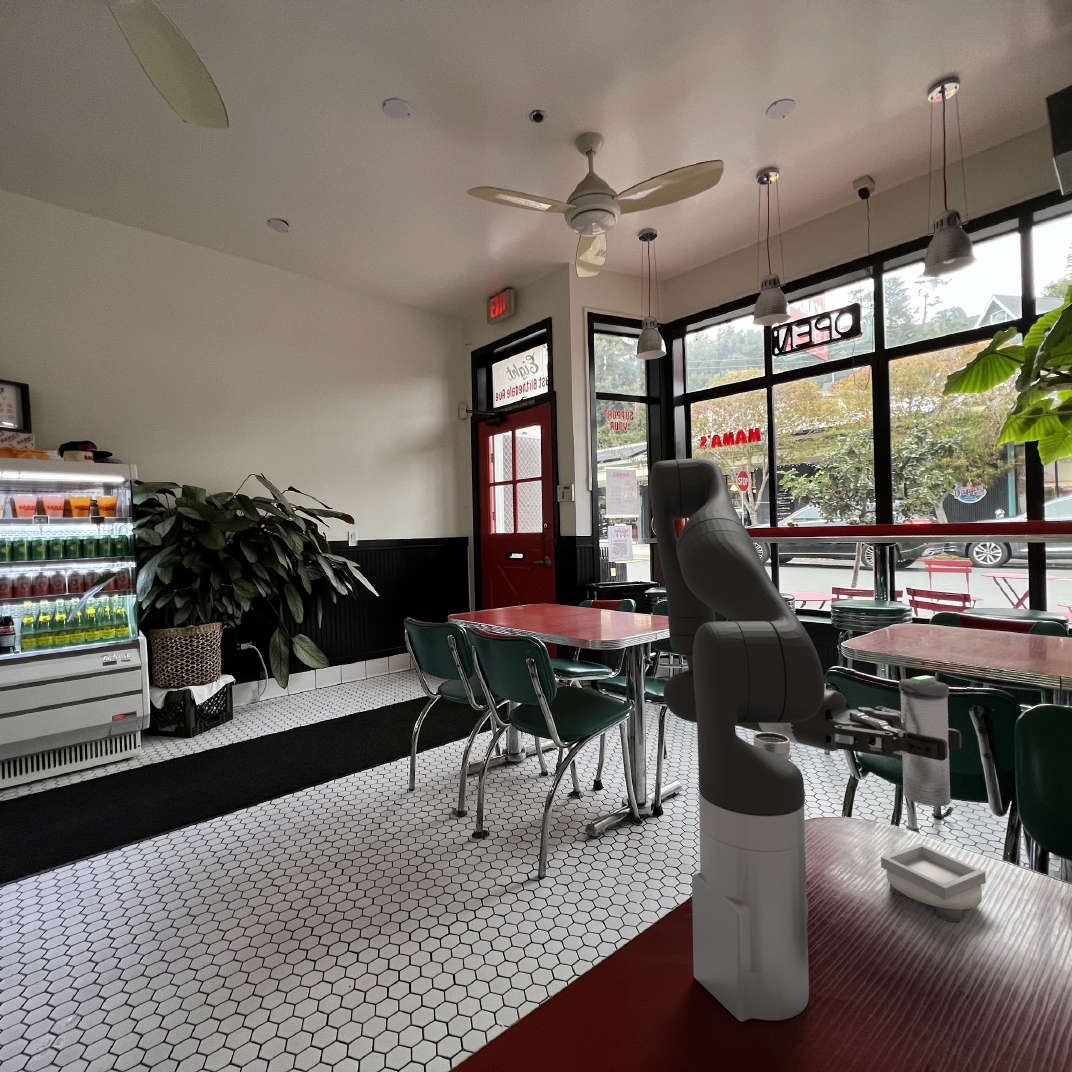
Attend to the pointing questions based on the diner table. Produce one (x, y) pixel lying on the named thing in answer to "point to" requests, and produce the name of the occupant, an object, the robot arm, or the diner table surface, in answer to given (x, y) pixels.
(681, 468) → the robot arm
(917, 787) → the grey bottle with lid
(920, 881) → the rectangular footed bonsai pot
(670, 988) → the diner table surface
